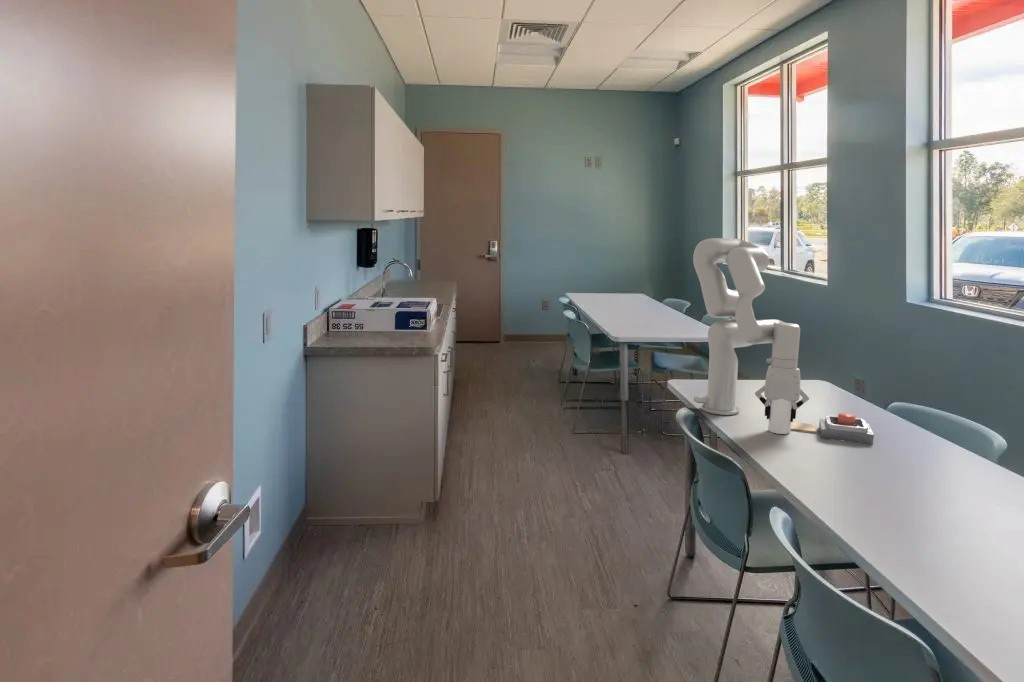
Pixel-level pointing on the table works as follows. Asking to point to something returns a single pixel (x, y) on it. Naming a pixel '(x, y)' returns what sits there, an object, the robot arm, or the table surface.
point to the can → (780, 416)
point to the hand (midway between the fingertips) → (779, 418)
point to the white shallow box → (845, 430)
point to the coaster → (803, 427)
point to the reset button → (846, 419)
